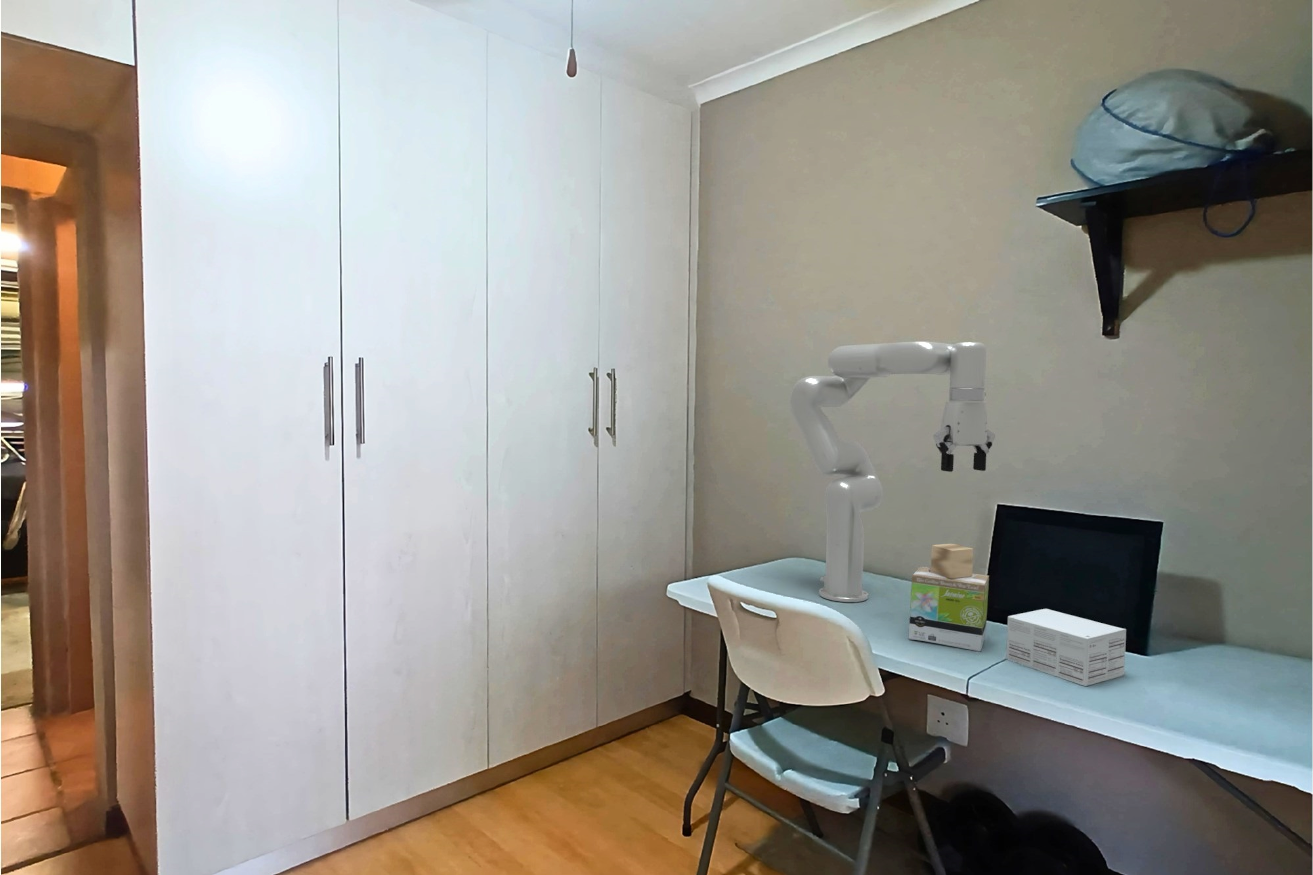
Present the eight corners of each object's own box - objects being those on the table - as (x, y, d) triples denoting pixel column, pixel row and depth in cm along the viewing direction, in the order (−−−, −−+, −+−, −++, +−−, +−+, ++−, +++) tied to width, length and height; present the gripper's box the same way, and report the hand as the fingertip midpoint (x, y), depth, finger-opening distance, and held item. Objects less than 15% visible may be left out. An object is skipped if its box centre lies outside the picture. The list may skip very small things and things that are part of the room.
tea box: (907, 640, 168) (910, 573, 167) (915, 628, 177) (918, 565, 176) (982, 652, 161) (985, 583, 160) (986, 639, 170) (989, 573, 169)
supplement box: (1125, 676, 149) (1128, 628, 149) (1085, 688, 142) (1088, 638, 142) (1044, 649, 164) (1046, 606, 163) (1004, 659, 157) (1006, 614, 157)
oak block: (930, 572, 169) (931, 545, 168) (951, 570, 171) (952, 543, 171) (951, 578, 163) (952, 550, 163) (972, 576, 166) (973, 548, 165)
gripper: (982, 396, 183) (979, 468, 184) (925, 395, 176) (922, 469, 177) (1007, 397, 176) (1004, 471, 177) (949, 396, 169) (945, 473, 171)
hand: (963, 470), depth 177 cm, fingers open, 9 cm apart
